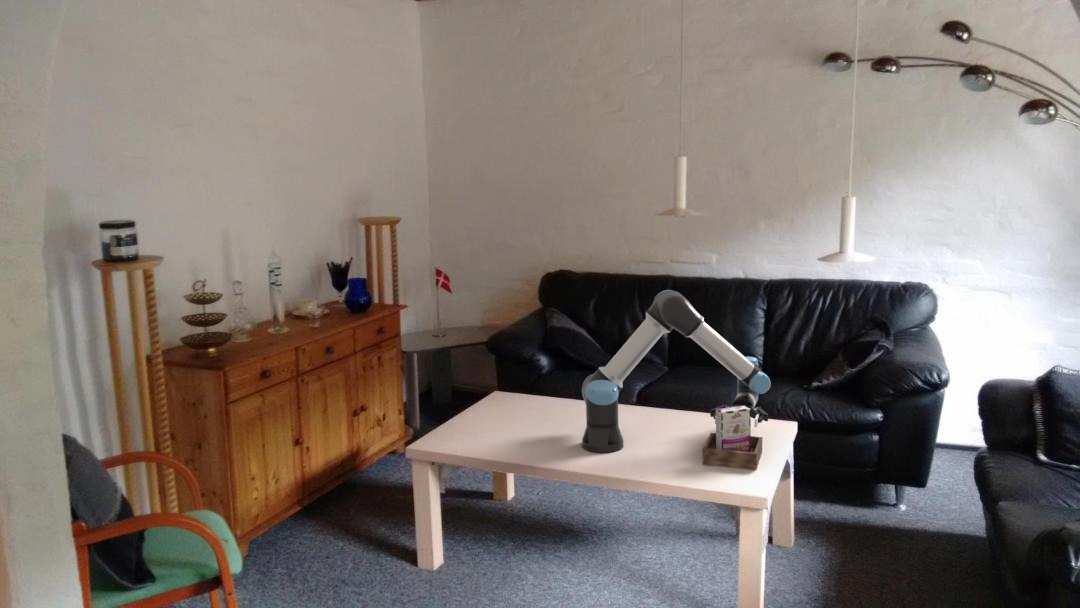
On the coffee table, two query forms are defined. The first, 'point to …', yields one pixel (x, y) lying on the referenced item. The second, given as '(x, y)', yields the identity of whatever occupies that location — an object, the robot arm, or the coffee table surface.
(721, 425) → the candy bar box
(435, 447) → the coffee table surface
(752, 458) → the walnut holder
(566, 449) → the coffee table surface
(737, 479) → the coffee table surface
